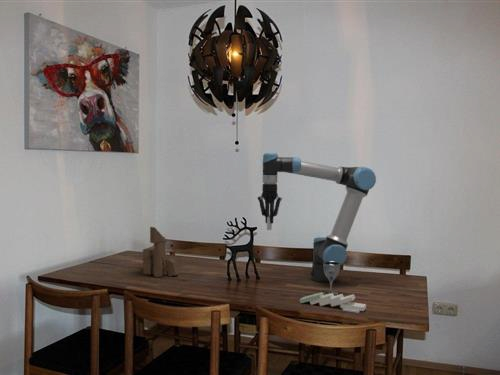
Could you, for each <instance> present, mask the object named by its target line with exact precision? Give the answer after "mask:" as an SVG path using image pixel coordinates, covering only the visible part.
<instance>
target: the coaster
mask: <svg viewBox="0 0 500 375" xmlns="http://www.w3.org/2000/svg"><path fill="white" fill-rule="evenodd" d="M342 311H343V312H349V313H357V314H360V312H361V311H359V310H352V309H346V308H342Z"/></svg>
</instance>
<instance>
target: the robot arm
mask: <svg viewBox="0 0 500 375" xmlns="http://www.w3.org/2000/svg"><path fill="white" fill-rule="evenodd" d="M278 173H288V174H292V175H293V174H294V175H299V176H304V177H308V178H309V177H310V178H315V179H321V180H326V181H332V182H335V183H336V184H338V185H342V186H345V190H346V194H345V196H344V200H343V202H342V204H341V206H340V210H339V212H338V216H337V217H336V220H335V223H334V225H333V227H332V230H331V233H330V234H329V235H326V237H320V236H318V237H314V238H313V243H312V244H313V246H312V248H313V249H312V250H313V251H312V252H313V257H312V259H313V260H312V262H313V263H312V267H311V269H310V272H309V279H310V280H312V281H315V282H320V283H321V282H323V283H325V282H326V283H327V282H329V283H330V281H329V279H328V278H327V277H326V275H325V274H324V269H323V262H326V261H333V262H339V263H340V266H342V265H343V264H345V261H346V260H347V257H348V254H347V248H348V246H349V244H348V237H349V234H350V232H351V229H352V227H353V224H354V222H355V219H356V216H357V214H358V212H359V209H360V206H361V204H362V201H363V198H366V197H367V196H368V195H369V191H370V190H371V189H373V188H374V187H375V185H376V181H377V176H376V174H375V172H374V171H373V170H372V169H371V168H369V167H367V166H366V167H365V166H352V167H347V166H338V167H336V166H335V167H334V166H330V165H324V164H319V163H314V162H308V161H303V160H301V158H300V157H290V156H289V157H280V156H278V153H276V152H275V153H274V152H268V153H267V152H266V153H264V154H263V156H262V183H263V184H262V193H261V195H260V196H258V197H257V200H258V202H259V207H260V211H261V216H262V217H263V216H264V217H265V220H264V221H265V224H266V230H267V231H271V230H273V226H272V225H273V224H274V217H277V216H278V213H279V208H280V206H281V204H280V203H281V202H282V200H283V198H282V197H280V196H279V194H278V184H277V183H278ZM275 201H276V202H275ZM337 280H338V276H337V277H336V278H335V279H334V280H333V282H336V281H337Z"/></svg>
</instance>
